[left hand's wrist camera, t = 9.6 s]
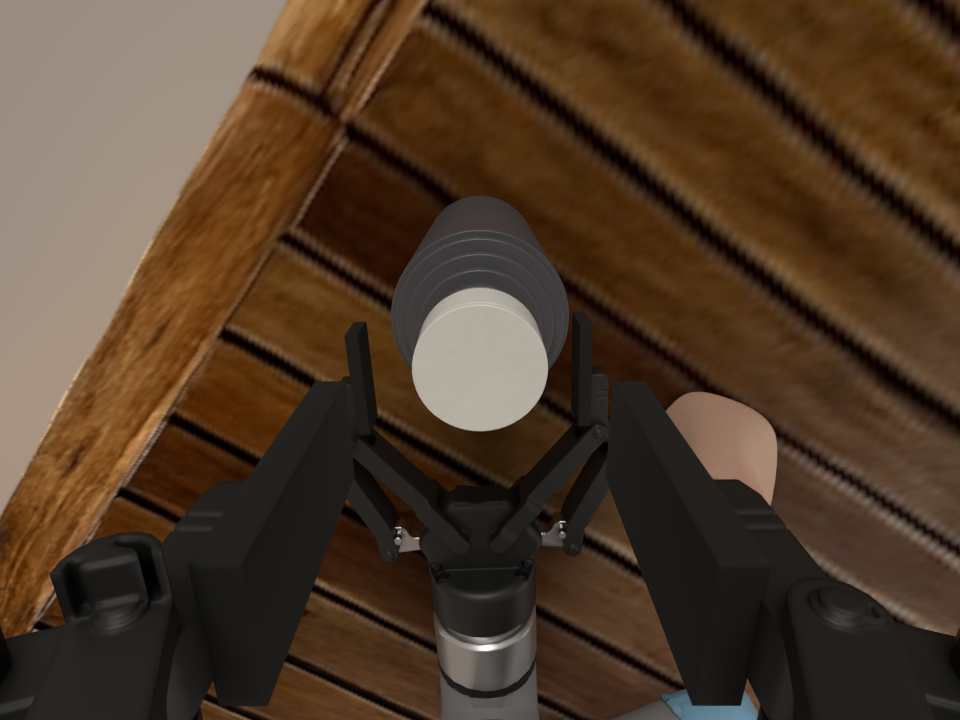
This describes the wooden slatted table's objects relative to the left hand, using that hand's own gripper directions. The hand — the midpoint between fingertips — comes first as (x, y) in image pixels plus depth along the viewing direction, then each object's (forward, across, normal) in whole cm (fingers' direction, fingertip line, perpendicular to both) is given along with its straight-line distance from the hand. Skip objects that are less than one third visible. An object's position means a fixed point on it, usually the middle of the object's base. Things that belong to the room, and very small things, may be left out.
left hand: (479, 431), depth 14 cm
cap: (+4, 0, 0) cm, 4 cm away
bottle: (+26, 0, 0) cm, 26 cm away
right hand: (+20, +1, +3) cm, 20 cm away
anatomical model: (+26, -18, +17) cm, 36 cm away
